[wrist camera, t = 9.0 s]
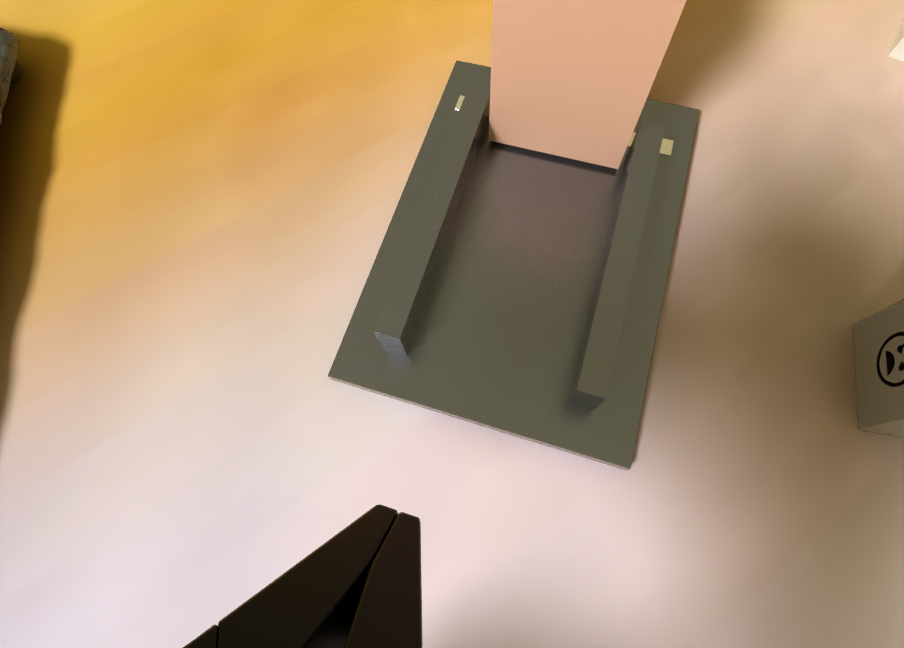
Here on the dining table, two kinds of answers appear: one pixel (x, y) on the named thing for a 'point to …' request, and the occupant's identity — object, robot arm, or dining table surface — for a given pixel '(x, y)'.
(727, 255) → the dining table surface
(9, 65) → the serving board
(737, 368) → the dining table surface
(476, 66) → the grey railed base plate
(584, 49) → the block
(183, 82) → the dining table surface
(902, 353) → the dice cube
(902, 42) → the cream cube
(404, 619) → the robot arm
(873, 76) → the dining table surface
